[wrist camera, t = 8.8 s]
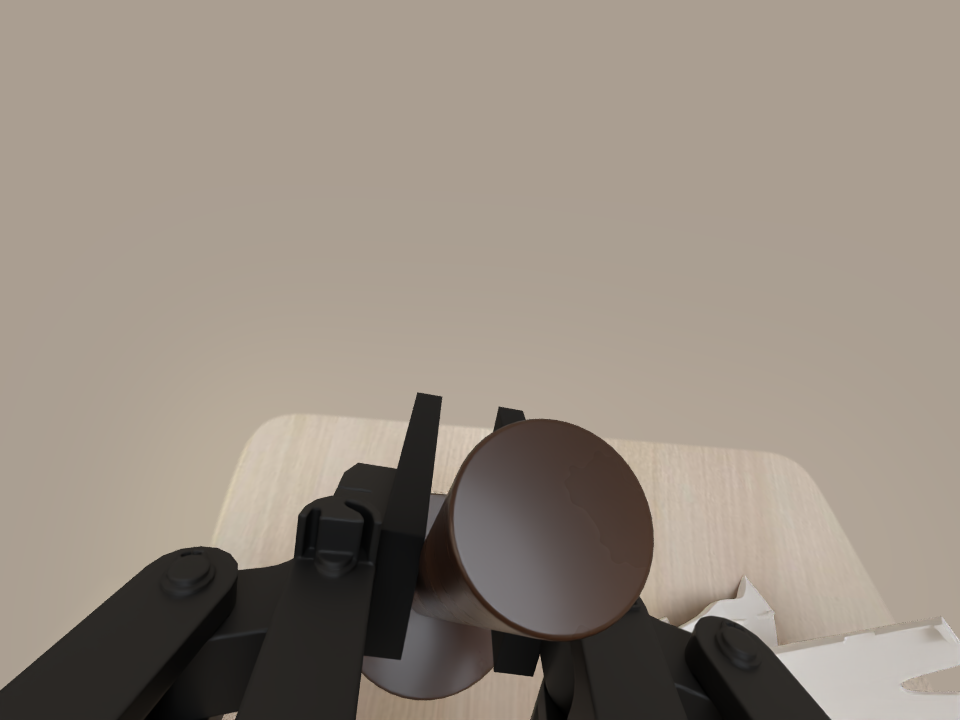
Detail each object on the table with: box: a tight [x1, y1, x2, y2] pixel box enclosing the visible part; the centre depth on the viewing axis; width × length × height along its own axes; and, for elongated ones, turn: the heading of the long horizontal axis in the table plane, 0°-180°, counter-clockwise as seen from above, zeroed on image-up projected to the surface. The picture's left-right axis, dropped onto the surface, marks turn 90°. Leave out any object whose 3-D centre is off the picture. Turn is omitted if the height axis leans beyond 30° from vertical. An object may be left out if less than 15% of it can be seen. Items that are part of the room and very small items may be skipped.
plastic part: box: [659, 575, 960, 720], centre depth 23 cm, size 8×10×12 cm
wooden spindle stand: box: [362, 419, 654, 700], centre depth 11 cm, size 6×6×16 cm
